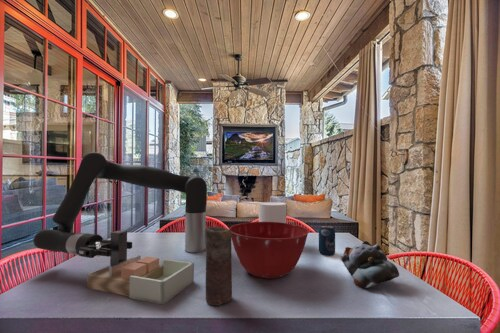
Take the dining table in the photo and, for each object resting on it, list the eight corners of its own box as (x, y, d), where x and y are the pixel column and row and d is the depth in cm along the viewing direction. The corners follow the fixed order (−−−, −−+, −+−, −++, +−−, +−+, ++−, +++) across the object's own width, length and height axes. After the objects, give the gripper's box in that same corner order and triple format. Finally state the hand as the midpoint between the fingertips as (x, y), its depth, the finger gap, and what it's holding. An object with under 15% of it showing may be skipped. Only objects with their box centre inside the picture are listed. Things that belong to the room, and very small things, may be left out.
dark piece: (98, 274, 80) (99, 235, 80) (128, 262, 91) (128, 227, 91) (111, 277, 78) (112, 237, 78) (140, 263, 90) (140, 228, 90)
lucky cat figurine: (356, 291, 78) (339, 244, 84) (350, 291, 88) (335, 249, 95) (407, 279, 76) (385, 232, 83) (395, 280, 87) (376, 238, 93)
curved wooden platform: (87, 287, 80) (87, 274, 80) (123, 271, 93) (123, 260, 93) (131, 296, 74) (131, 282, 74) (163, 277, 88) (163, 265, 88)
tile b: (120, 277, 78) (120, 267, 78) (133, 271, 82) (133, 262, 82) (134, 280, 76) (134, 269, 76) (146, 273, 81) (146, 264, 81)
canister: (268, 239, 138) (268, 201, 139) (291, 243, 131) (290, 203, 131) (253, 244, 128) (253, 203, 128) (277, 249, 120) (277, 205, 120)
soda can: (329, 257, 108) (329, 228, 109) (315, 253, 114) (315, 226, 114) (338, 254, 113) (338, 226, 113) (324, 250, 118) (324, 224, 118)
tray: (129, 297, 74) (129, 276, 74) (164, 276, 88) (164, 259, 89) (162, 304, 70) (163, 282, 70) (193, 281, 85) (193, 262, 85)
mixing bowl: (265, 253, 114) (265, 218, 114) (324, 271, 93) (324, 228, 94) (212, 270, 94) (213, 227, 94) (273, 298, 74) (273, 243, 74)
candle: (206, 293, 76) (207, 225, 77) (231, 292, 77) (232, 224, 77) (204, 307, 69) (204, 231, 69) (232, 306, 69) (232, 230, 70)
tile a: (135, 270, 83) (135, 261, 83) (146, 265, 88) (146, 256, 88) (148, 272, 82) (148, 263, 82) (159, 267, 86) (159, 258, 86)
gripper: (64, 238, 83) (103, 243, 78) (102, 229, 97) (137, 232, 92) (64, 262, 83) (102, 268, 78) (102, 249, 97) (137, 254, 91)
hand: (121, 249), depth 85 cm, fingers open, 8 cm apart
